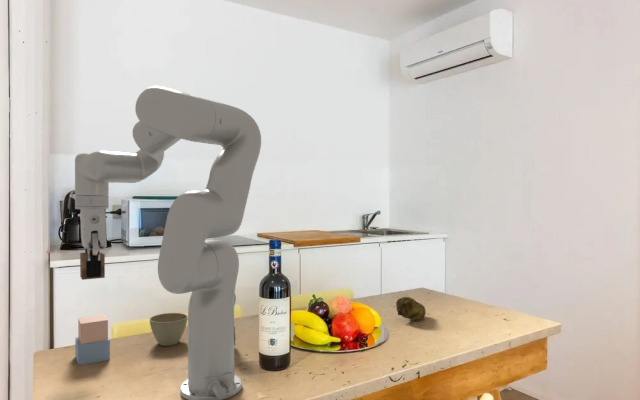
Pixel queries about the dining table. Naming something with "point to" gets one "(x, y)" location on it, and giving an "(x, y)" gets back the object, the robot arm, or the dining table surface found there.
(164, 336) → the olive grey bowl
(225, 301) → the robot arm
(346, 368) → the dining table surface
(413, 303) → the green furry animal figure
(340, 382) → the dining table surface
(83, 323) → the tower top
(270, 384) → the dining table surface
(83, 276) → the walnut block
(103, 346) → the tower base
